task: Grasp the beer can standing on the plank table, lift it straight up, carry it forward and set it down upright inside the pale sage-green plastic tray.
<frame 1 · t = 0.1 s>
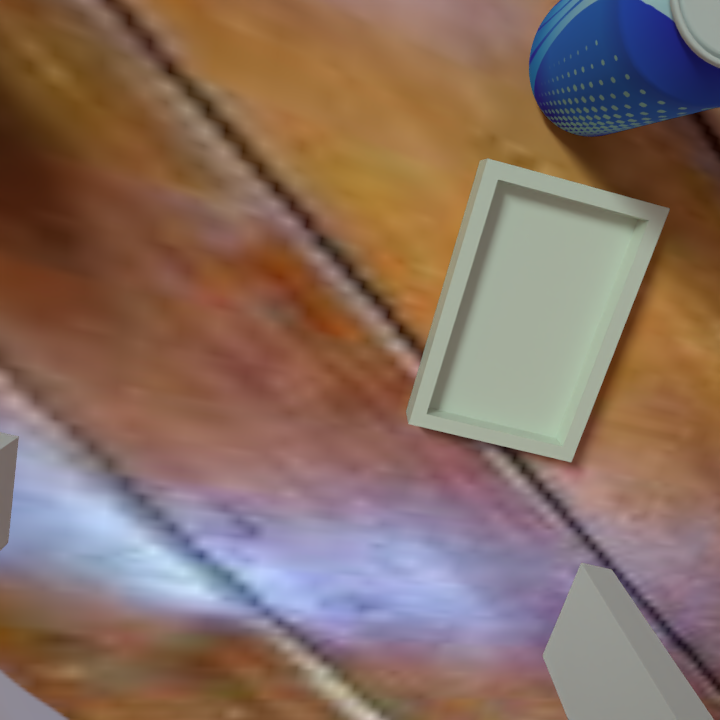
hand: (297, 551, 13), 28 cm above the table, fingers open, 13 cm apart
beer can: (588, 67, 36), on the table
tray: (522, 314, 40), on the table
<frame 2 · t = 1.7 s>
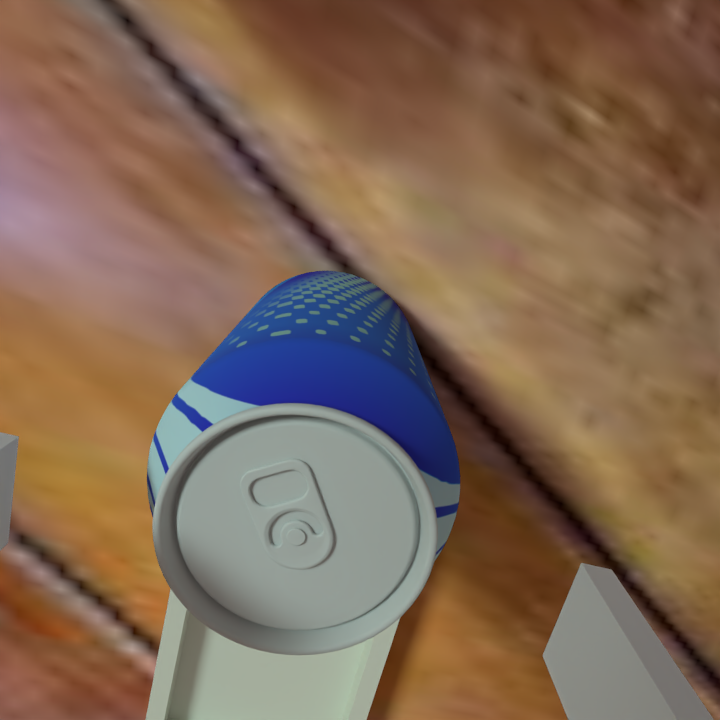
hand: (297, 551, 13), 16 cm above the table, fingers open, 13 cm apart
beer can: (328, 350, 29), on the table
tray: (280, 616, 33), on the table
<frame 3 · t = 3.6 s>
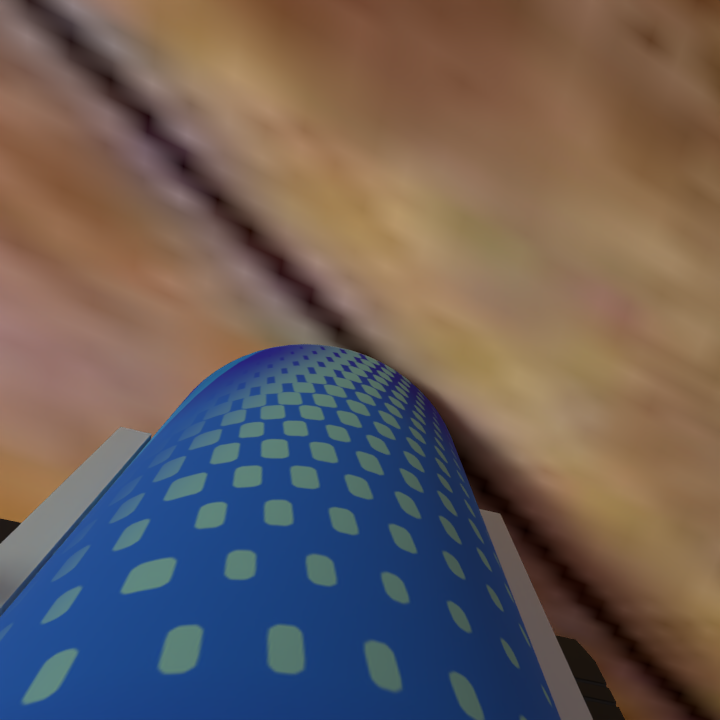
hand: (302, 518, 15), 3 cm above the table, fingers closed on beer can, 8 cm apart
beer can: (313, 465, 17), on the table, touching gripper
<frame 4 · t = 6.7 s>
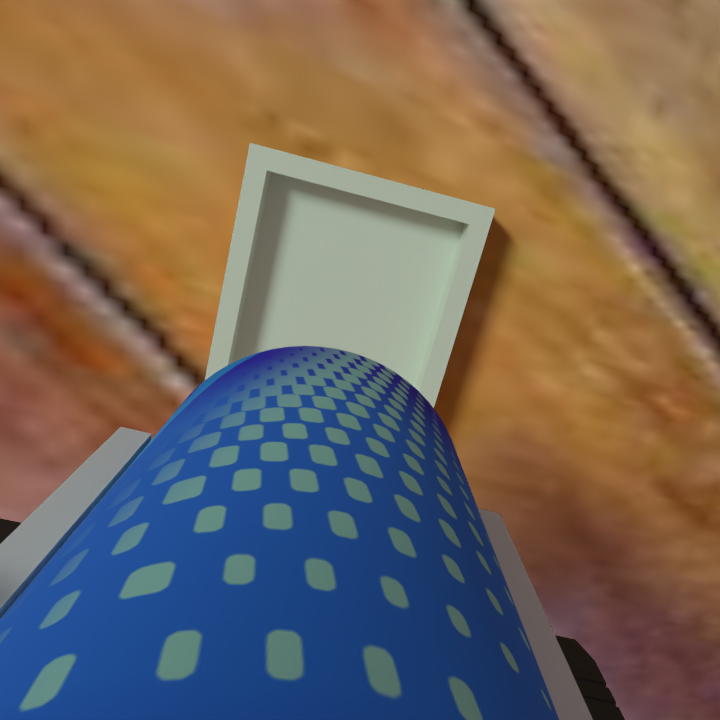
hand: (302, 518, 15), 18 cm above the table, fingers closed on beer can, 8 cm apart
beer can: (312, 466, 17), point 15 cm above the table, touching gripper
tray: (332, 343, 32), on the table
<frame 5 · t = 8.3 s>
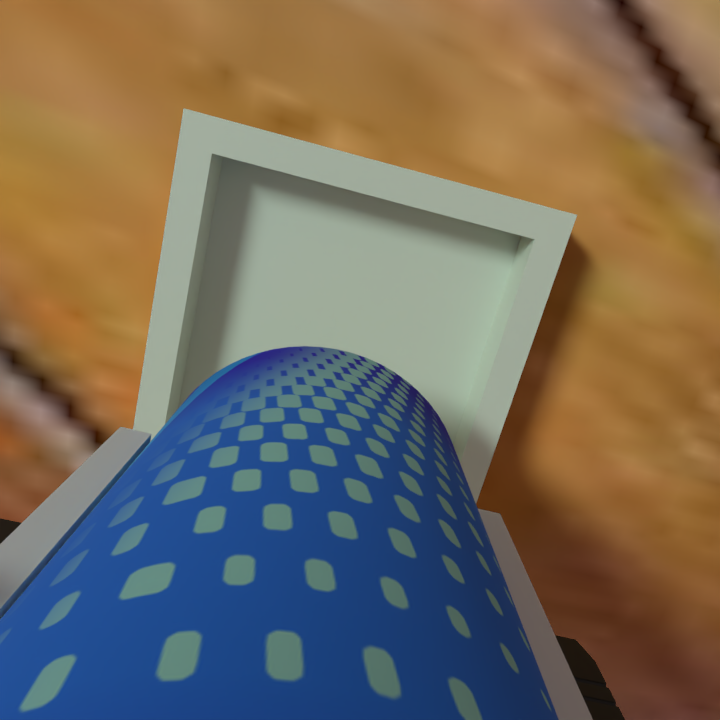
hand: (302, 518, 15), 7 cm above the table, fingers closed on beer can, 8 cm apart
beer can: (312, 466, 17), point 4 cm above the table, touching gripper
tray: (320, 411, 22), on the table
when the fingers open (5 cm above the table, at t = 9.7 s): beer can drops 1 cm, resting on tray.
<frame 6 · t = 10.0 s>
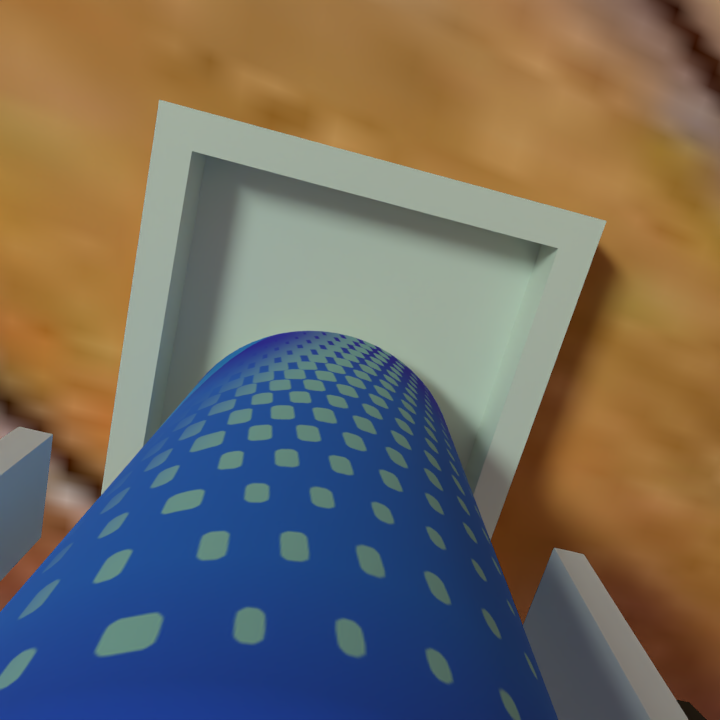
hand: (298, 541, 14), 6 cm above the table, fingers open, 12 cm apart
beer can: (316, 444, 19), point 1 cm above the table, touching tray
tray: (316, 437, 19), on the table
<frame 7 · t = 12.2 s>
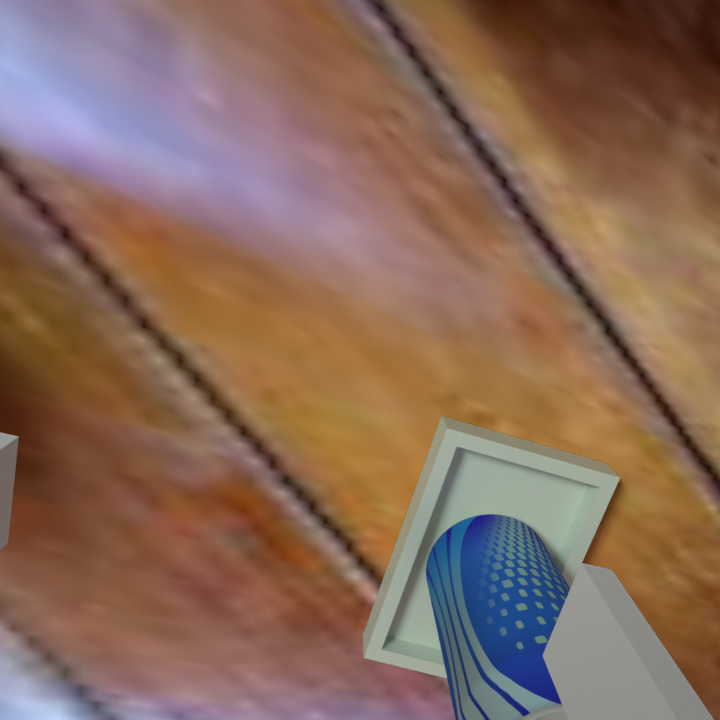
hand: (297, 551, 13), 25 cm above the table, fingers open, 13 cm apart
beer can: (482, 556, 41), point 1 cm above the table, touching tray
tray: (479, 552, 41), on the table
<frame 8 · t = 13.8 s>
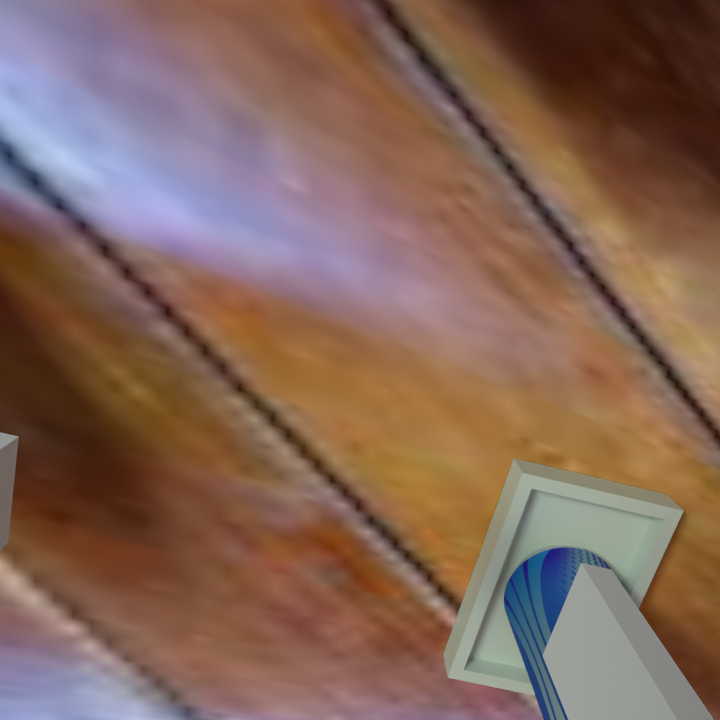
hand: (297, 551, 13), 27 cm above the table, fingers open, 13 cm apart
beer can: (553, 582, 44), point 1 cm above the table, touching tray
tray: (550, 578, 45), on the table
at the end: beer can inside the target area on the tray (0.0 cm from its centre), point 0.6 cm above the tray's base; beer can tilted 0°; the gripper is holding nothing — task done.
